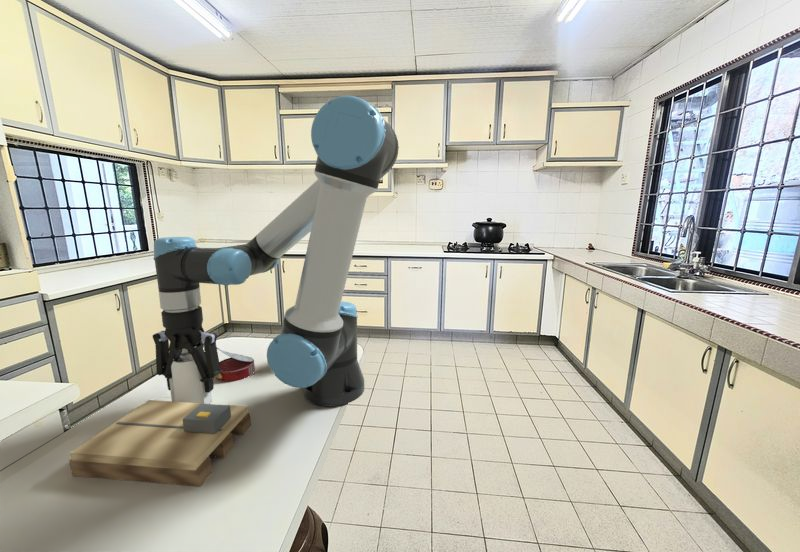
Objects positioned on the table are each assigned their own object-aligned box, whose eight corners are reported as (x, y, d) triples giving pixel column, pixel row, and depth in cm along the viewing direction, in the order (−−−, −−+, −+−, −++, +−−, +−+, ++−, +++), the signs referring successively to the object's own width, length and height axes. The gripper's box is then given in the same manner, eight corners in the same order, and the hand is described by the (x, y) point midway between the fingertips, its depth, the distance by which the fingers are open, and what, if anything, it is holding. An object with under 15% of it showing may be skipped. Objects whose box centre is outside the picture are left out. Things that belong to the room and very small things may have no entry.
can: (193, 414, 74) (187, 364, 71) (169, 410, 75) (162, 361, 73) (215, 399, 80) (210, 352, 78) (192, 395, 81) (186, 349, 79)
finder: (231, 417, 65) (229, 404, 65) (215, 433, 60) (213, 419, 60) (202, 415, 66) (200, 402, 65) (184, 431, 61) (182, 417, 60)
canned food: (223, 384, 96) (222, 350, 98) (260, 378, 97) (258, 344, 100) (206, 385, 85) (205, 346, 88) (247, 378, 87) (246, 340, 89)
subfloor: (251, 425, 70) (249, 405, 69) (200, 486, 54) (197, 462, 54) (149, 418, 72) (146, 399, 71) (71, 475, 56) (67, 451, 55)
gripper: (233, 304, 76) (241, 396, 80) (154, 301, 78) (166, 392, 82) (212, 314, 69) (222, 415, 73) (125, 310, 70) (140, 409, 74)
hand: (192, 402), depth 77 cm, fingers closed on can, 6 cm apart
